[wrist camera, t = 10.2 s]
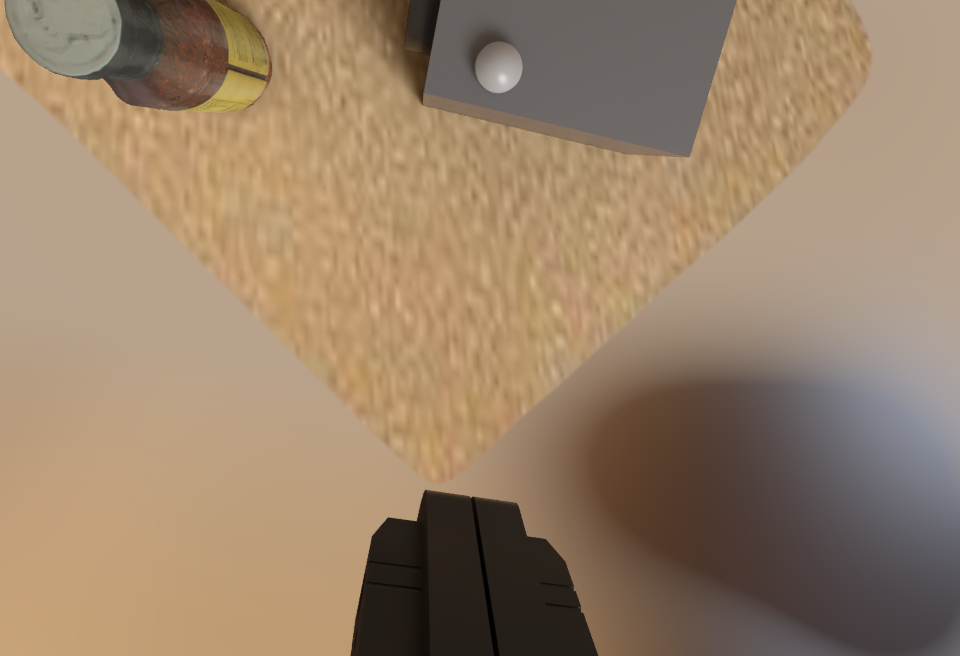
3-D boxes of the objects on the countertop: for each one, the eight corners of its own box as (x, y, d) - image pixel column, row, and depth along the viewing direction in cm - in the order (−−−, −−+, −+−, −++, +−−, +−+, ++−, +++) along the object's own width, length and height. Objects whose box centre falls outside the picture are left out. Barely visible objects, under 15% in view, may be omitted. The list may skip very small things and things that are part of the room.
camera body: (428, -67, 40) (432, -149, 29) (668, 0, 42) (758, -51, 31) (399, 99, 43) (392, 84, 31) (626, 154, 45) (695, 157, 34)
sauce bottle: (191, -5, 40) (-16, -139, 21) (287, 36, 41) (174, -57, 22) (166, 97, 41) (-49, 57, 22) (260, 133, 42) (131, 125, 23)
